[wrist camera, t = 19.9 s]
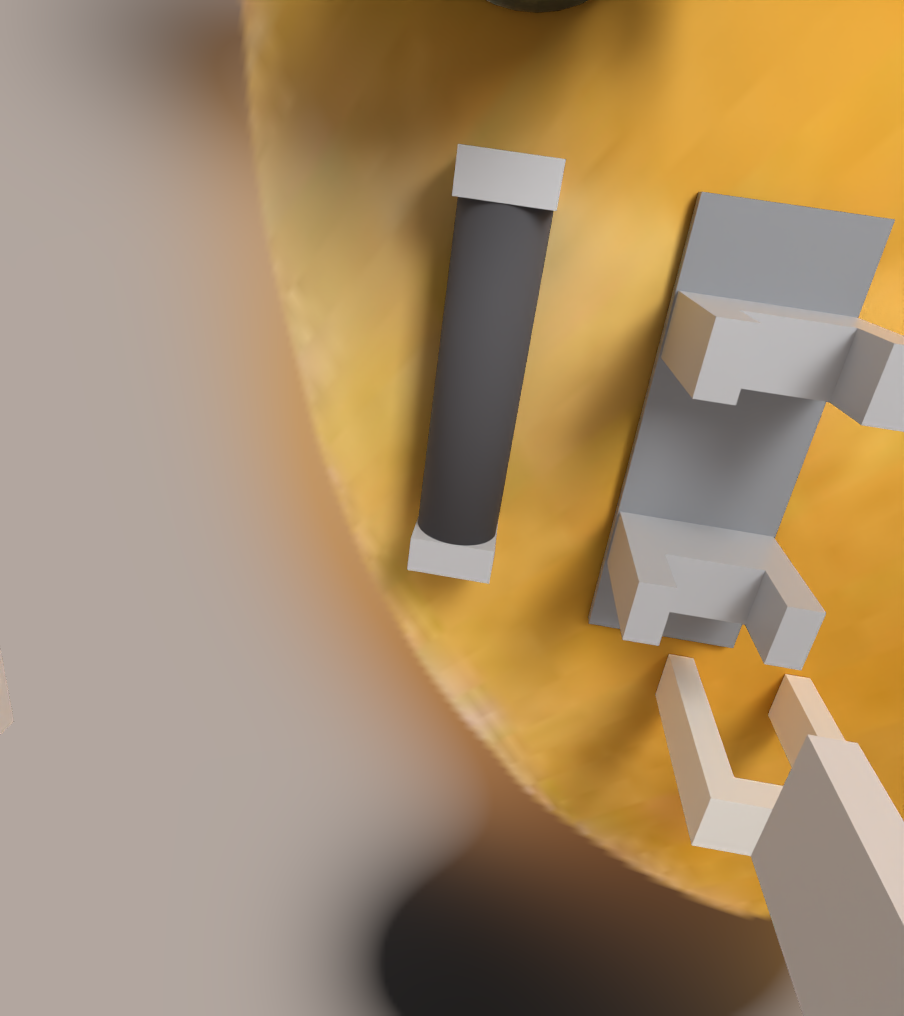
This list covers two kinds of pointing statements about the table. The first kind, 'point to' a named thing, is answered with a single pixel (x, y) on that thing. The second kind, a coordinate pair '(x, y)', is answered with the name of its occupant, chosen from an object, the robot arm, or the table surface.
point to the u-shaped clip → (703, 761)
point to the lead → (482, 354)
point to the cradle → (744, 423)
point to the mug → (537, 4)
